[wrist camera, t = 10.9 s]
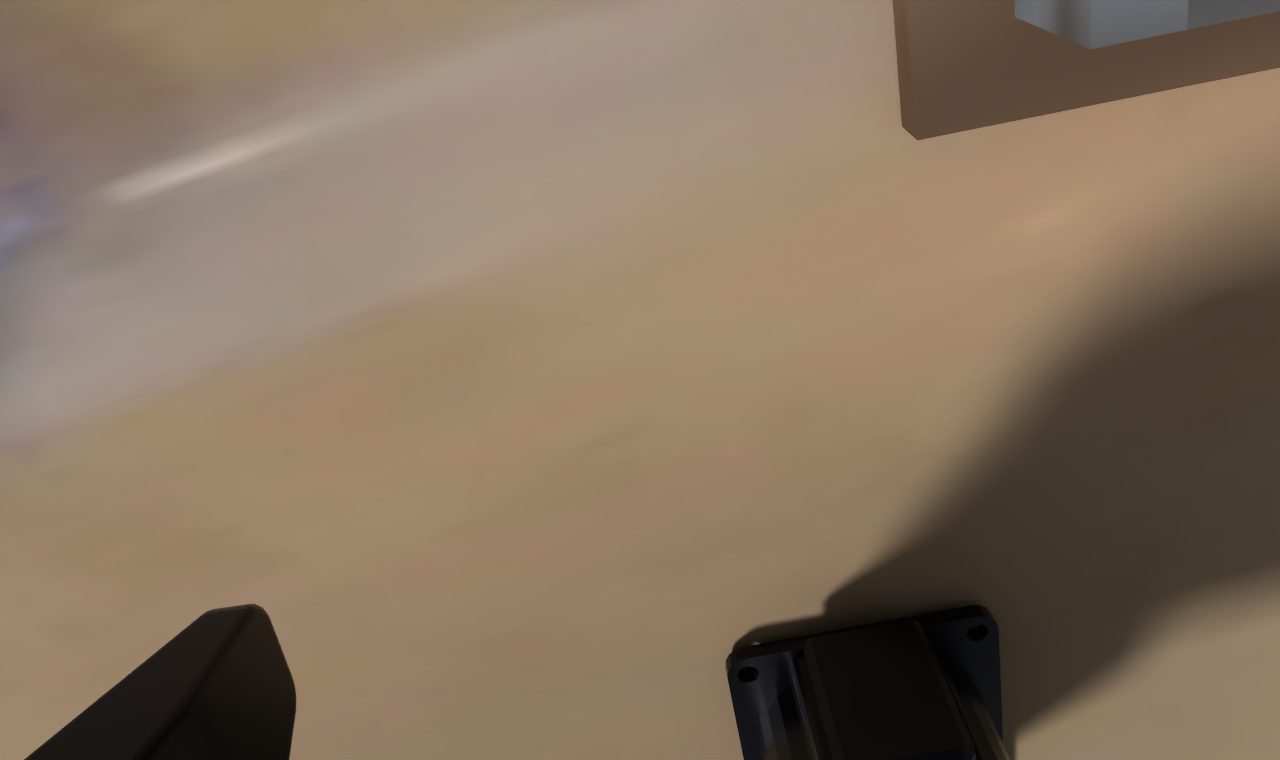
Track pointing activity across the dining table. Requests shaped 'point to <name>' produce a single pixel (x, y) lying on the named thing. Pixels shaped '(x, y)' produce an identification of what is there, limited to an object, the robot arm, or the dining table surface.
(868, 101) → the dining table surface
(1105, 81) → the socket board
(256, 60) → the dining table surface
